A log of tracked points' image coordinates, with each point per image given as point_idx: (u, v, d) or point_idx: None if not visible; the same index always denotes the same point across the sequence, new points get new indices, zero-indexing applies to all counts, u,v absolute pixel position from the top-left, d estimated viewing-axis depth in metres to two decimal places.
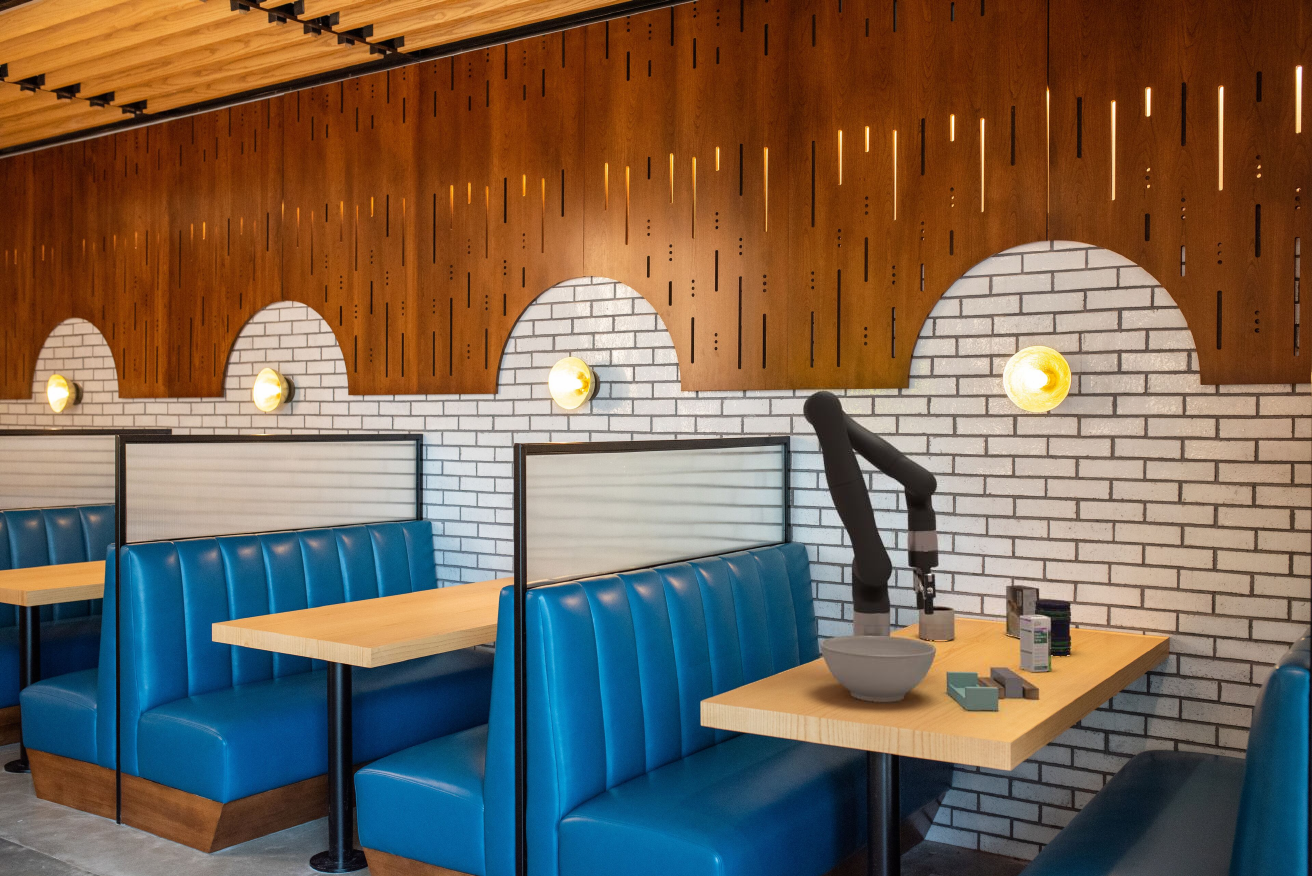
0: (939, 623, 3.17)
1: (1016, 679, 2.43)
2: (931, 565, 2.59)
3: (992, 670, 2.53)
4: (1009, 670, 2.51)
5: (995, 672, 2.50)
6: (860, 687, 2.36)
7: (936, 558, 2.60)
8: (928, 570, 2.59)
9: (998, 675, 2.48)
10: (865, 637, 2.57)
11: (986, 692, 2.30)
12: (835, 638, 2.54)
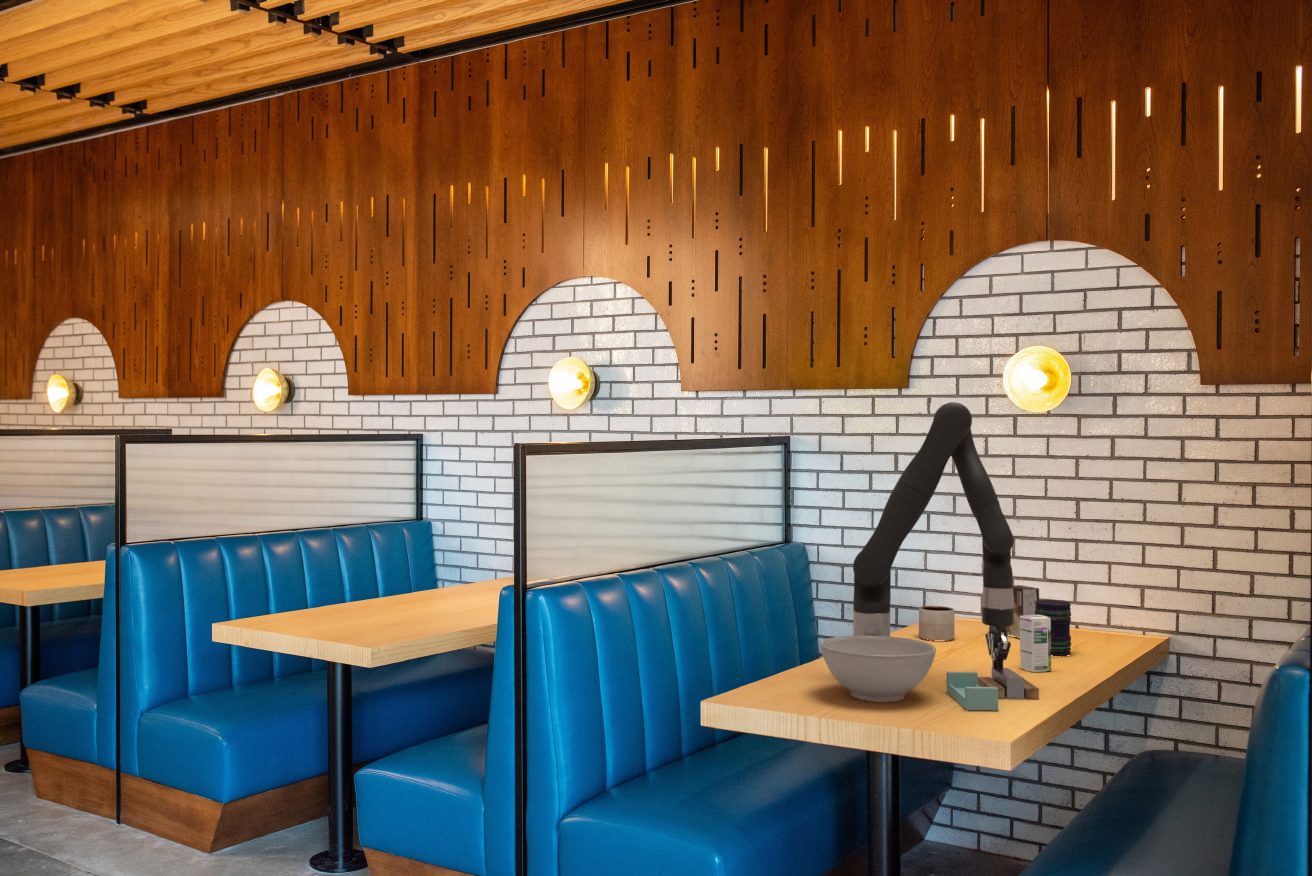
0: (939, 623, 3.17)
1: (1018, 679, 2.42)
2: (1007, 624, 2.52)
3: (993, 671, 2.52)
4: (1010, 670, 2.50)
5: (996, 673, 2.50)
6: (860, 687, 2.36)
7: (1012, 616, 2.53)
8: (1004, 629, 2.52)
9: (999, 676, 2.47)
10: (865, 637, 2.57)
11: (986, 692, 2.30)
12: (835, 638, 2.54)
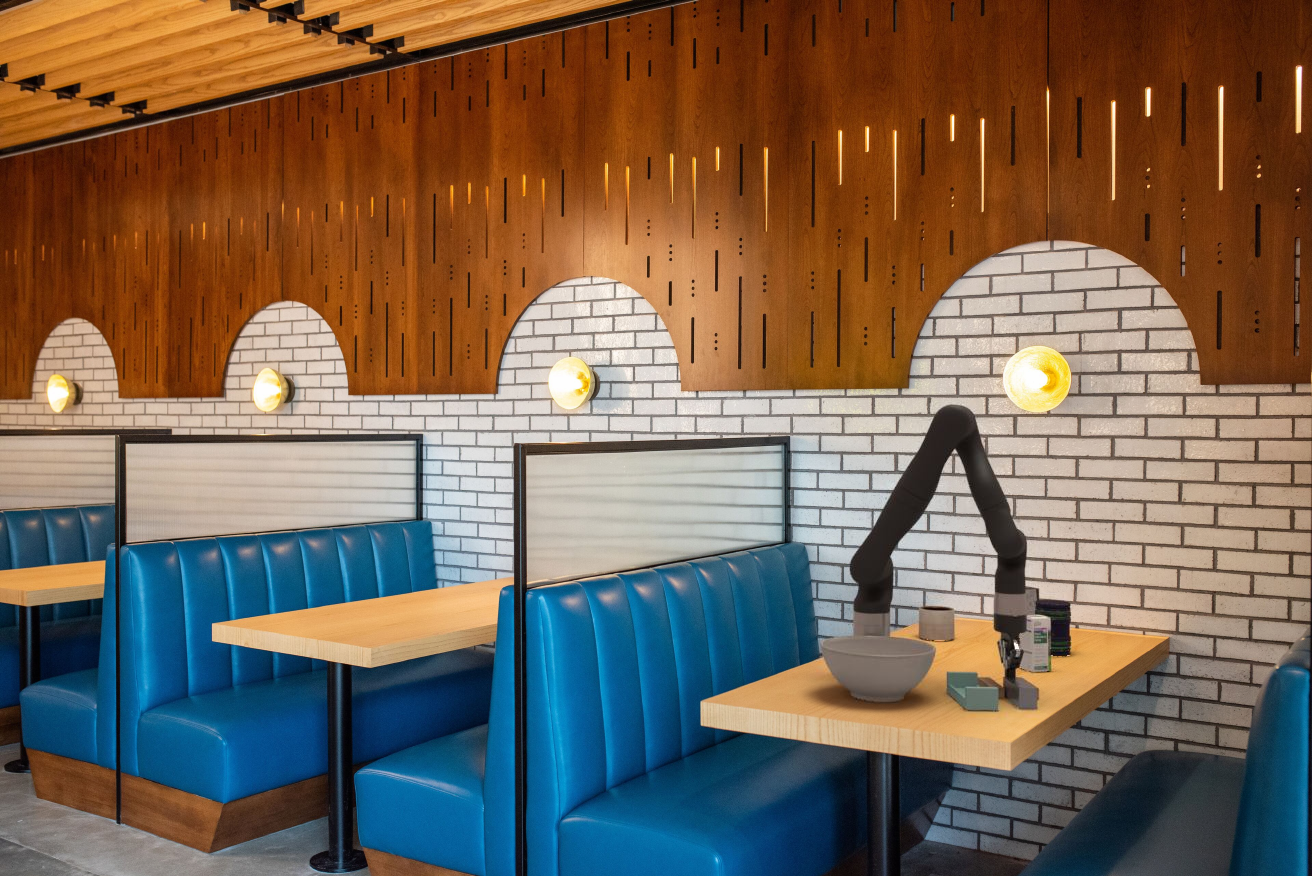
0: (939, 622, 3.17)
1: (1030, 690, 2.32)
2: (1020, 631, 2.42)
3: (1005, 680, 2.42)
4: (1023, 680, 2.40)
5: (1008, 682, 2.40)
6: (860, 687, 2.36)
7: (1025, 623, 2.43)
8: (1016, 636, 2.42)
9: (1011, 685, 2.37)
10: (865, 637, 2.57)
11: (986, 692, 2.30)
12: (835, 638, 2.54)
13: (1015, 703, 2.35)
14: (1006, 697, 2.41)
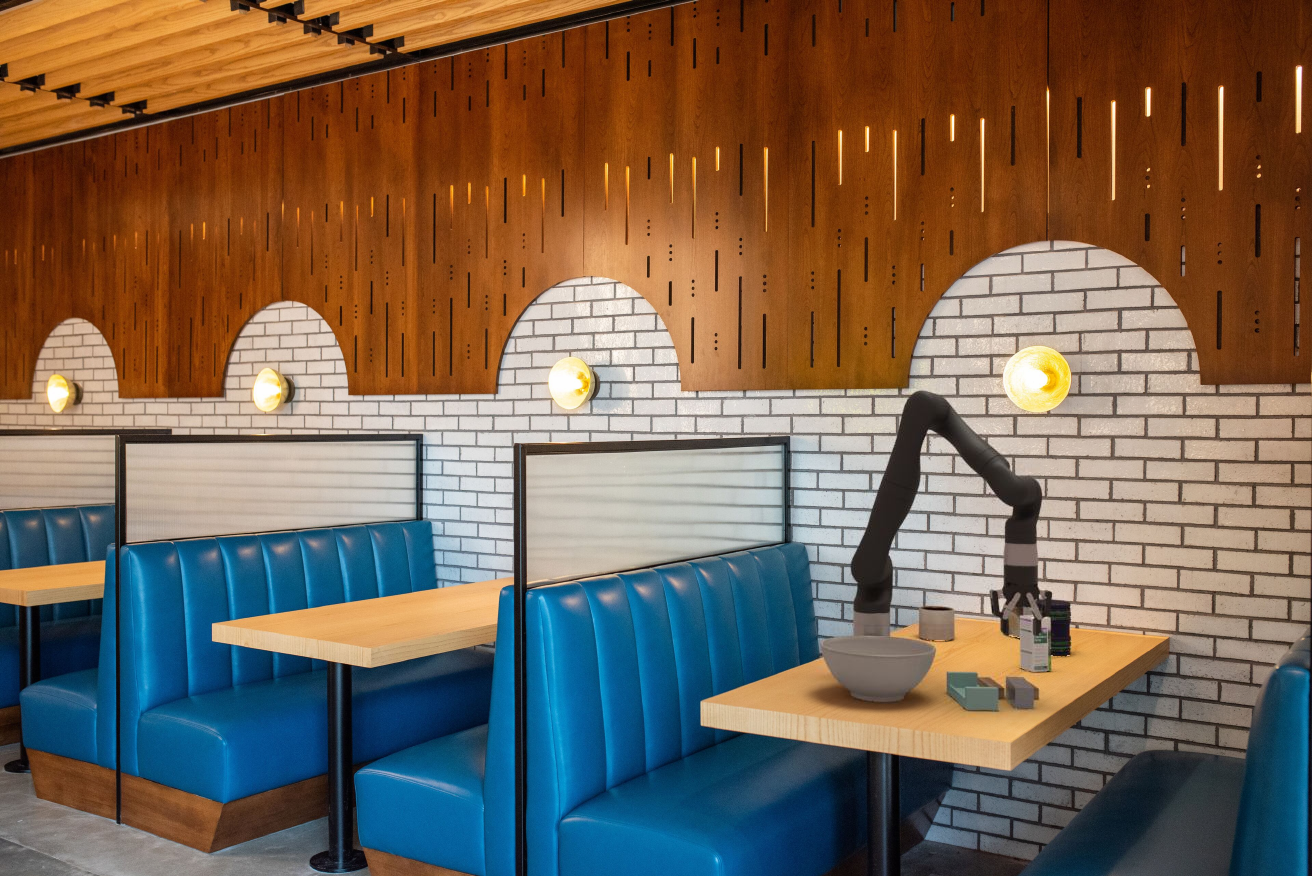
0: (939, 623, 3.17)
1: (1027, 689, 2.32)
2: (1007, 580, 2.37)
3: (1007, 679, 2.42)
4: (1024, 680, 2.40)
5: (1008, 682, 2.40)
6: (860, 687, 2.36)
7: (1013, 574, 2.35)
8: (1004, 585, 2.38)
9: (1010, 685, 2.37)
10: (865, 637, 2.57)
11: (986, 692, 2.30)
12: (835, 638, 2.54)
13: (1013, 703, 2.35)
14: (1007, 697, 2.41)
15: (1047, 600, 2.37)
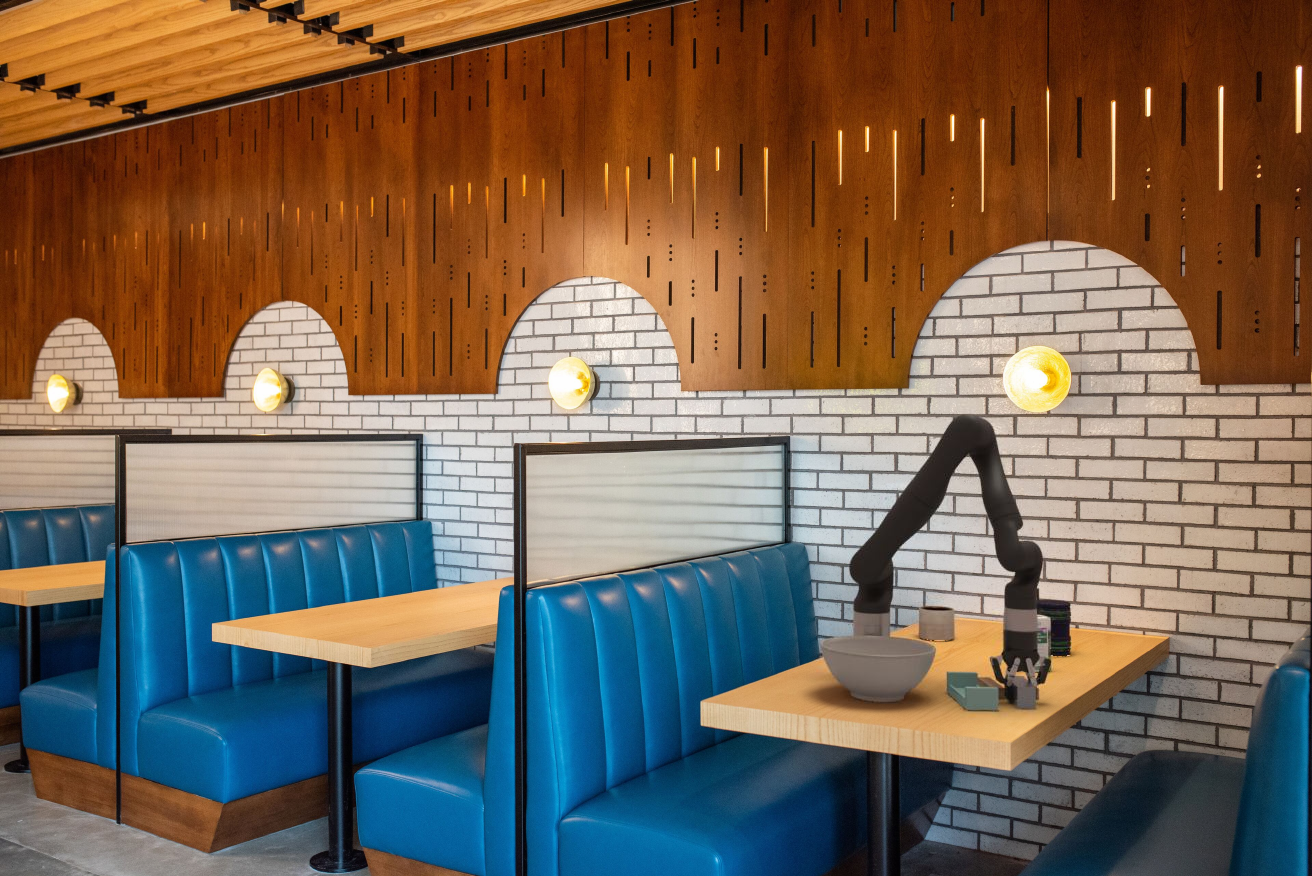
0: (939, 623, 3.17)
1: (1029, 688, 2.32)
2: (1006, 645, 2.37)
3: None
4: (1024, 679, 2.40)
5: None
6: (860, 687, 2.36)
7: (1013, 640, 2.35)
8: (1004, 650, 2.38)
9: (1012, 684, 2.37)
10: (865, 637, 2.57)
11: (986, 692, 2.30)
12: (835, 638, 2.54)
13: (1014, 702, 2.35)
14: None
15: (1045, 667, 2.36)
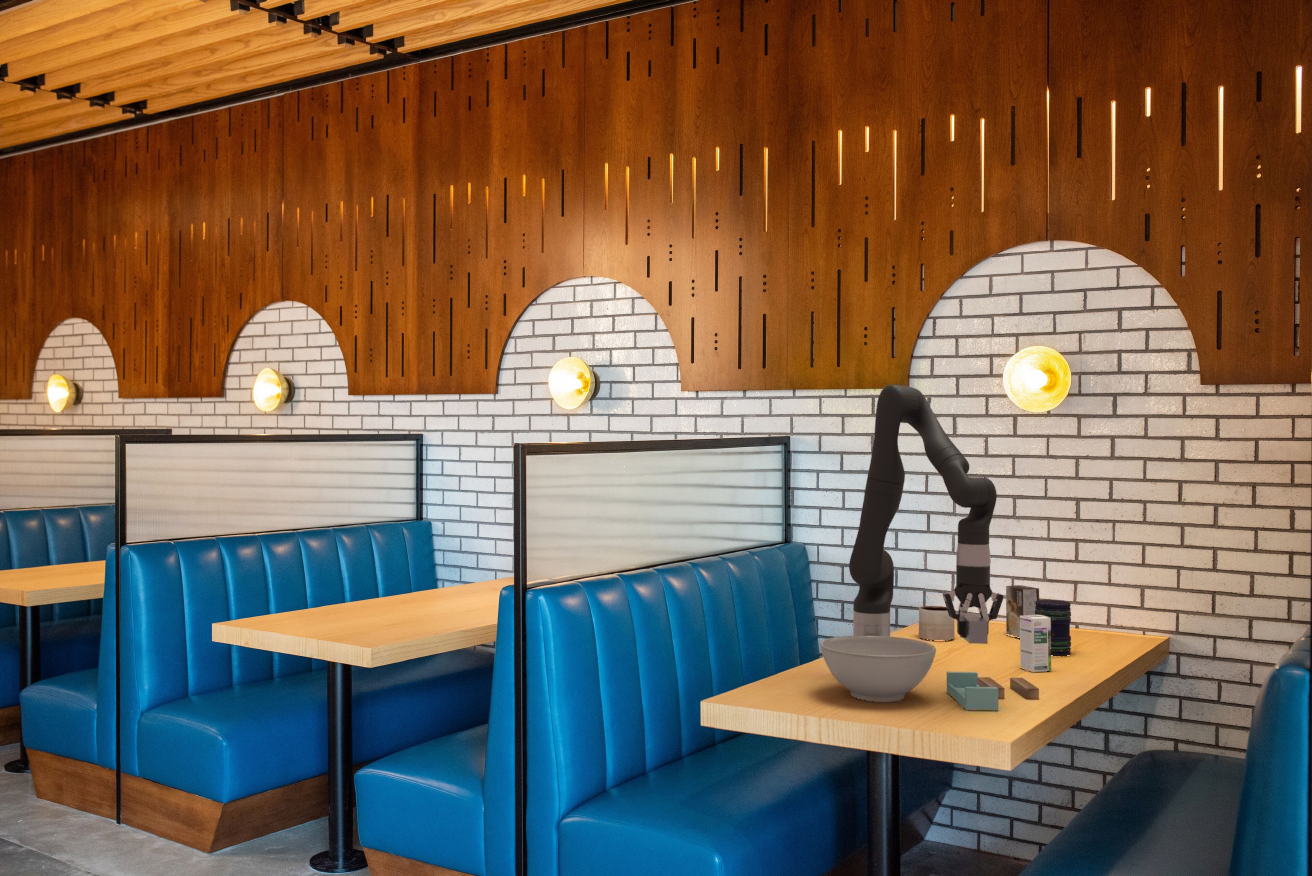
0: (939, 623, 3.17)
1: (981, 623, 2.33)
2: (959, 581, 2.38)
3: None
4: (977, 615, 2.41)
5: None
6: (860, 687, 2.36)
7: (965, 575, 2.36)
8: (957, 586, 2.38)
9: (964, 620, 2.38)
10: (865, 637, 2.57)
11: (986, 692, 2.30)
12: (835, 638, 2.54)
13: (966, 637, 2.35)
14: None
15: (997, 603, 2.37)
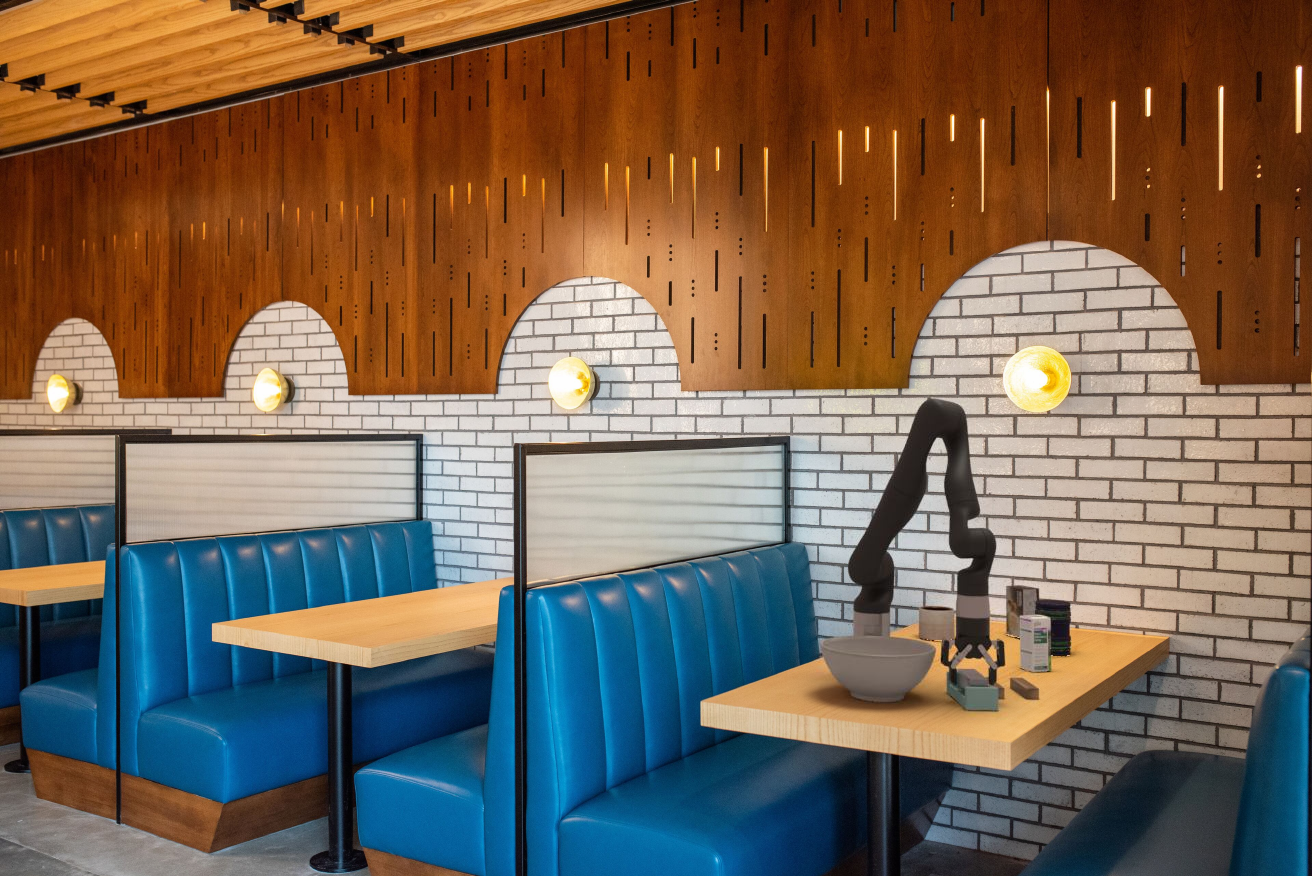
0: (939, 622, 3.17)
1: (981, 681, 2.32)
2: (958, 632, 2.37)
3: (959, 671, 2.43)
4: (976, 672, 2.40)
5: (961, 674, 2.40)
6: (860, 687, 2.36)
7: (965, 626, 2.36)
8: (956, 637, 2.38)
9: (964, 677, 2.38)
10: (865, 637, 2.57)
11: (986, 692, 2.30)
12: (835, 638, 2.54)
13: None
14: (960, 689, 2.42)
15: (1000, 650, 2.37)
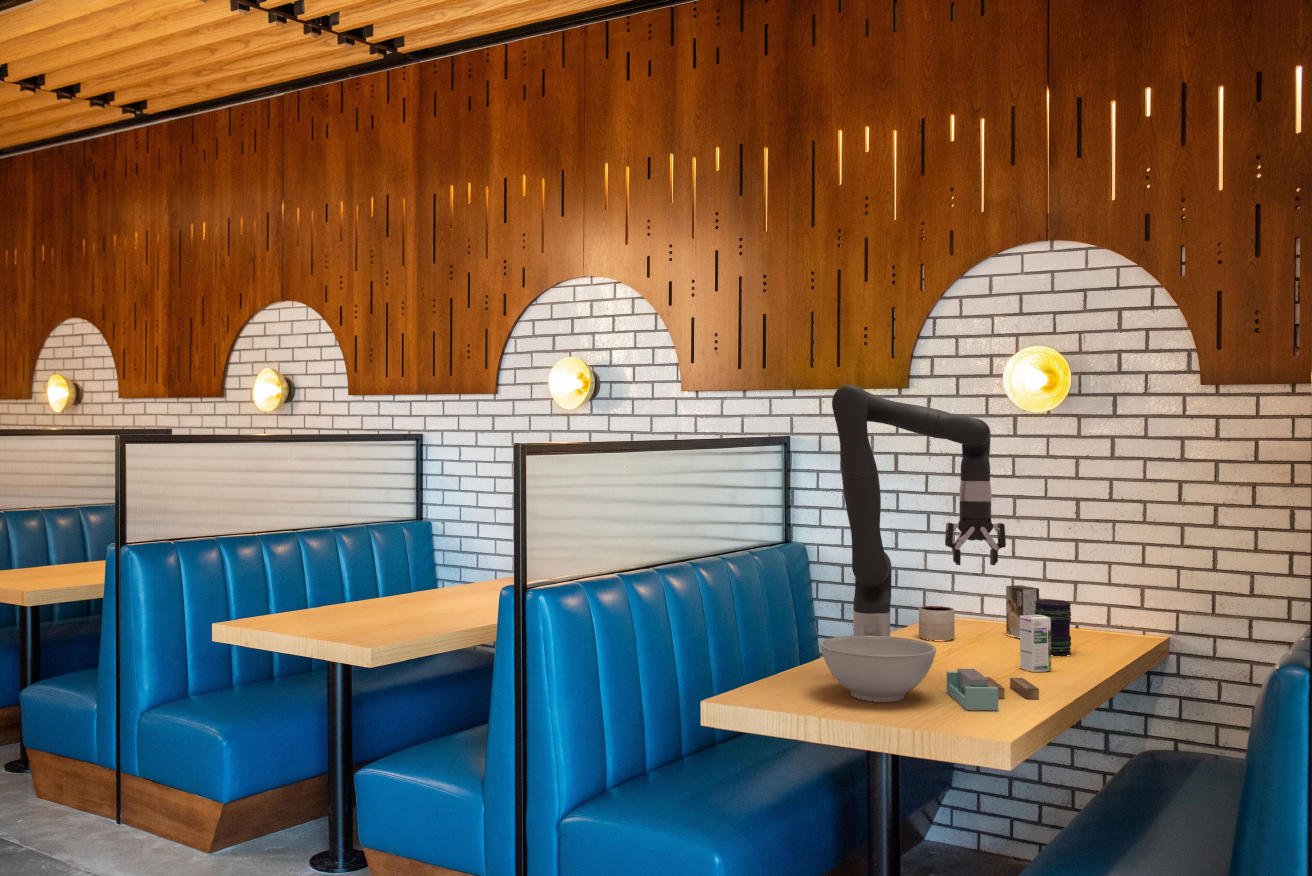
0: (939, 622, 3.17)
1: (981, 681, 2.32)
2: (962, 516, 2.54)
3: (959, 671, 2.43)
4: (976, 672, 2.40)
5: (961, 674, 2.40)
6: (860, 687, 2.36)
7: (968, 509, 2.52)
8: (960, 520, 2.54)
9: (964, 677, 2.38)
10: (865, 637, 2.57)
11: (986, 692, 2.30)
12: (835, 638, 2.54)
13: None
14: (960, 689, 2.42)
15: (1001, 532, 2.53)
